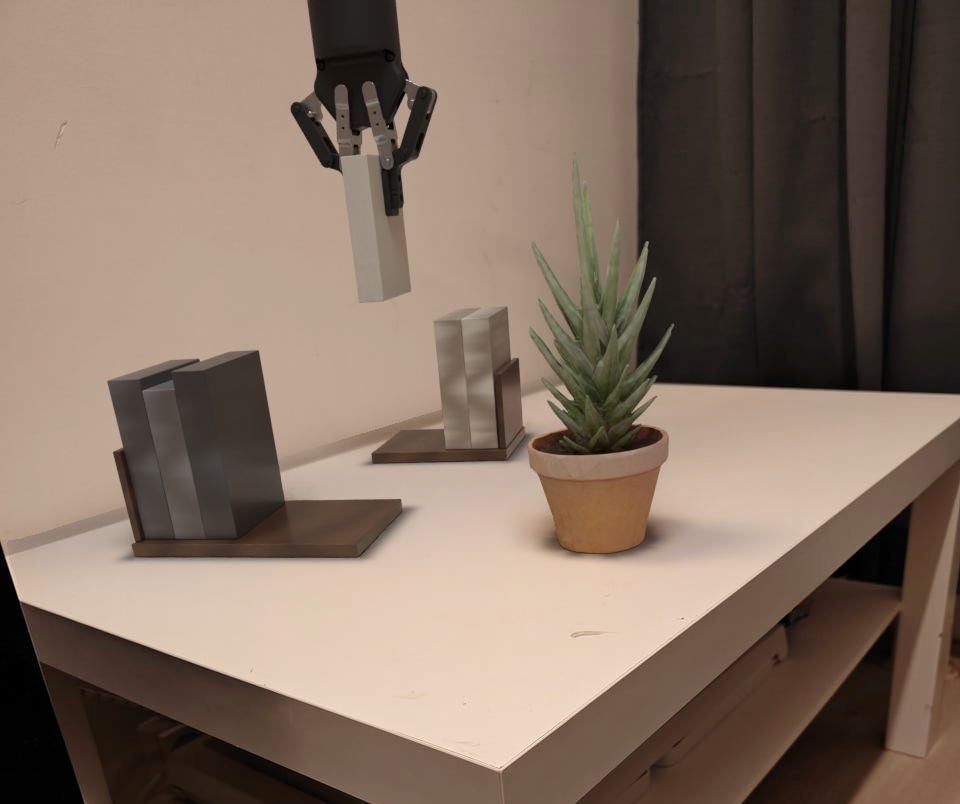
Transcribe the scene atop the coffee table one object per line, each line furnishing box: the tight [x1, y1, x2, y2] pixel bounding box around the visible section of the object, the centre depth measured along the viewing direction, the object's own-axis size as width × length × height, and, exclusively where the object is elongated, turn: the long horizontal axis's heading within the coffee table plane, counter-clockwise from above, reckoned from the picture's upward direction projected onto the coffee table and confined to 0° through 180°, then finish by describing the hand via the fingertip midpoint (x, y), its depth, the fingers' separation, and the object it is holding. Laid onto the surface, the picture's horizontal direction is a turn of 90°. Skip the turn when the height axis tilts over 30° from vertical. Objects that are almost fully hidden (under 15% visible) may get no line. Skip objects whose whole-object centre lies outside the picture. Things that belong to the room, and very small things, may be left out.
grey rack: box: [106, 349, 403, 558], centre depth 71 cm, size 18×11×13 cm, turn 77°
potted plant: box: [527, 151, 675, 554], centre depth 61 cm, size 10×10×25 cm
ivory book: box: [341, 153, 412, 304], centre depth 87 cm, size 2×9×12 cm, turn 167°
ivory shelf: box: [371, 305, 526, 464], centre depth 92 cm, size 14×10×13 cm
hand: (376, 216), depth 87 cm, fingers closed on ivory book, 2 cm apart
